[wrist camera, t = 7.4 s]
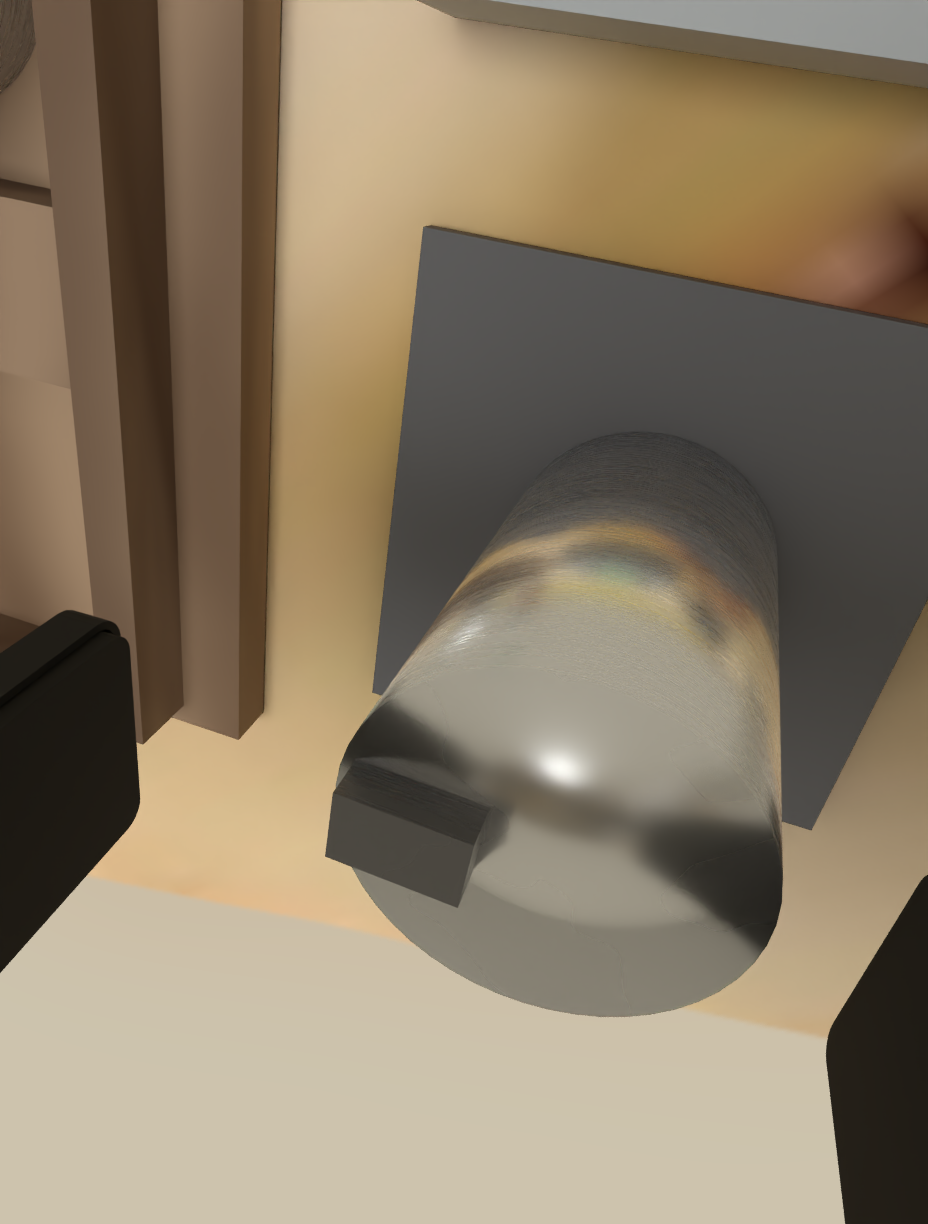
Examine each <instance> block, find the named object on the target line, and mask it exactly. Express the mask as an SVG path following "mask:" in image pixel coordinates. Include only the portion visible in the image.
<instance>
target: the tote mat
mask: <svg viewBox="0 0 928 1224" xmlns="http://www.w3.org/2000/svg"><path fill="white" fill-rule="evenodd" d="M626 432H649V433H660V434H665V435H670V436H675V437H679V438H682V439H685V440H688V441H691V442H693V443H696V444H698V445H700V446H702V447H704V448H706V449H708V450H710V451H712V452H714V453H715V454H717V455H718V456H720V457H721V458H723V459H724V460H726V461H727V462H729V463H730V464H731V465H732V466H733V467H734V468H735V469H737V470H738V471H739V472H740V473H741V474H742V475H743V476H744V477H745V478H746V480H747V481H748V482H749V483H750V484H751V485H752V487H753V488H754V489H755V491H756V492H757V494H758V495H759V497H760V498H761V500H762V502H763V503H764V505H765V508H766V510H767V512H768V514H769V517H770V519H771V522H772V526H773V529H774V533H775V537H776V545H777V560H778V621H779V682H780V744H781V805H782V821H783V822H786V823H789V824H792V825H796V826H799V827H802V828H805V829H808V830H812V828H813V826H814V824H815V822H816V820H817V818H818V816H819V814H820V812H821V810H822V808H823V806H824V804H825V802H826V800H827V798H828V796H829V794H830V792H831V790H832V788H833V786H834V784H835V782H836V780H837V778H838V776H839V774H840V772H841V770H842V768H843V766H844V765H845V763H846V761H847V759H848V757H849V755H850V753H851V751H852V749H853V747H854V745H855V743H856V741H857V739H858V737H859V735H860V733H861V731H862V729H863V727H864V725H865V723H866V721H867V719H868V717H869V715H870V713H871V711H872V709H873V707H874V705H875V703H876V701H877V699H878V697H879V695H880V693H881V691H882V689H883V687H884V685H885V683H886V681H887V679H888V677H889V675H890V673H891V671H892V669H893V667H894V665H895V663H896V661H897V659H898V657H899V655H900V653H901V651H902V649H903V647H904V645H905V643H906V641H907V639H908V637H909V635H910V633H911V631H912V629H913V627H914V625H915V623H916V622H917V620H918V618H919V616H920V614H921V612H922V610H923V608H924V606H925V604H926V602H927V600H928V324H923V323H918V322H913V321H908V320H903V319H898V318H893V317H888V316H883V315H878V314H873V313H868V312H863V311H858V310H853V309H848V308H843V307H838V306H833V305H828V304H823V303H818V302H813V301H808V300H803V299H798V298H793V297H788V296H783V295H778V294H773V293H768V292H763V291H758V290H753V289H748V288H743V287H738V286H733V285H728V284H723V283H718V282H713V281H708V280H703V279H698V278H693V277H688V276H683V275H678V274H673V273H668V272H663V271H657V270H652V269H647V268H642V267H637V266H632V265H627V264H622V263H617V262H612V261H607V260H602V259H597V258H592V257H587V256H582V255H577V254H572V253H567V252H562V251H557V250H552V249H547V248H542V247H537V246H532V245H527V244H522V243H517V242H512V241H507V240H502V239H497V238H492V237H487V236H482V235H477V234H472V233H467V232H462V231H457V230H452V229H447V228H442V227H437V226H432V225H430V226H425V227H423V234H422V244H421V253H420V262H419V271H418V280H417V289H416V298H415V307H414V317H413V326H412V335H411V344H410V353H409V362H408V371H407V380H406V390H405V399H404V408H403V417H402V426H401V435H400V444H399V454H398V463H397V472H396V481H395V490H394V499H393V508H392V517H391V527H390V536H389V545H388V554H387V563H386V572H385V581H384V591H383V600H382V609H381V618H380V627H379V636H378V645H377V654H376V664H375V673H374V682H373V691H372V693H376V694H379V695H383V693H384V692H385V691H386V689H387V688H388V686H389V685H390V683H391V682H392V681H393V679H394V678H395V676H396V675H397V674H398V672H399V671H400V669H401V668H402V666H403V665H404V664H405V662H406V661H407V659H408V658H409V656H410V655H411V654H412V652H413V651H414V649H415V648H416V646H417V645H418V644H419V642H420V641H421V639H422V638H423V637H424V635H425V634H426V632H427V631H428V629H429V628H430V627H431V625H432V624H433V622H434V621H435V619H436V618H437V617H438V615H439V614H440V612H441V611H442V609H443V608H444V607H445V605H446V604H447V602H448V601H449V600H450V598H451V597H452V595H453V594H454V592H455V591H456V590H457V588H458V587H459V585H460V584H461V582H462V581H463V580H464V578H465V577H466V575H467V574H468V572H469V571H470V570H471V568H472V567H473V565H474V564H475V563H476V561H477V560H478V558H479V557H480V555H481V554H482V553H483V551H484V550H485V548H486V547H487V545H488V544H489V543H490V541H491V540H492V538H493V537H494V535H495V534H496V533H497V531H498V530H499V528H500V527H501V526H502V524H503V523H504V521H505V520H506V518H507V517H508V516H509V514H510V513H511V511H512V510H513V508H514V507H515V506H516V504H517V503H518V501H519V500H520V498H521V497H522V496H523V494H524V493H525V491H526V490H527V489H528V487H529V486H530V484H531V483H532V481H533V480H534V479H535V478H536V477H537V476H538V475H539V473H540V472H541V471H542V470H543V469H544V468H545V467H546V466H547V465H549V464H550V463H551V462H552V461H553V460H554V459H556V458H557V457H559V456H560V455H562V454H563V453H565V452H566V451H568V450H569V449H571V448H573V447H575V446H578V445H580V444H582V443H584V442H586V441H589V440H592V439H595V438H599V437H602V436H606V435H612V434H617V433H626Z"/></svg>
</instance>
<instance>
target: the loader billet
mask: <svg viewBox="0 0 928 1224" xmlns="http://www.w3.org/2000/svg"><path fill="white" fill-rule="evenodd" d="M35 45H36V40H35V30H34V20H33V10H32V0H0V94H1V93H3V92H4V91H5V90H6V89H7V88H9V87H10V86H11V85H12V84H13V82H14V81H15V80H16V79H17V78H18V76H19V75H20V74H21V73H22V71H23V69H24V68H25V66H26V64H27V62H28V61H29V59H30V57H31V55H32V52H33V50H34V47H35Z"/></svg>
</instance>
